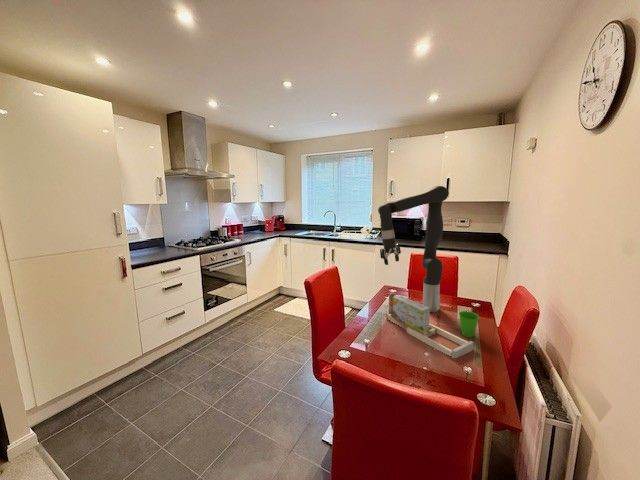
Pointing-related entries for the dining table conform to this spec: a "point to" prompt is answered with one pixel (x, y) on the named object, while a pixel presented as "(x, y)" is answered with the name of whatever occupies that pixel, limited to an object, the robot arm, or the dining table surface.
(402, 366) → the dining table surface
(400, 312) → the snack box
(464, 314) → the cup
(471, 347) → the frame
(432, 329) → the pull frame
